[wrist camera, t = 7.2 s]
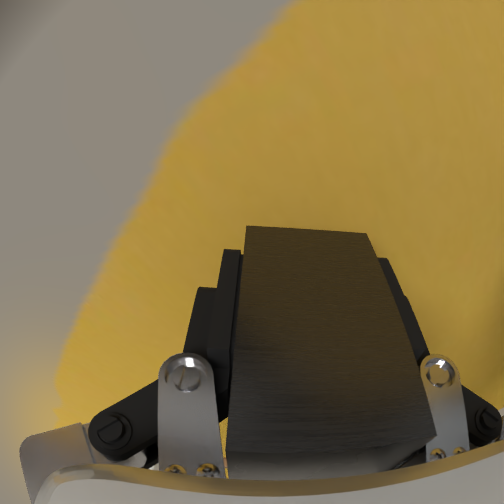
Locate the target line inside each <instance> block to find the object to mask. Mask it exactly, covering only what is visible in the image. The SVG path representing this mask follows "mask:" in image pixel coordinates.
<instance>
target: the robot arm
mask: <svg viewBox="0 0 504 504" xmlns="http://www.w3.org/2000/svg"><path fill="white" fill-rule="evenodd" d="M378 261H379V263H380V265H381V268H382V270H383V272H384V275H385V277H386V280H387V282H388V285H389V287H390V290H391V292H392V295H393V297H394V300H395V302H396V305H397V308H398V310H399V313H400V316H401V318H402V321H403V324H404V327H405V329H406V332H407V335H408V338H409V341H410V344H411V347H412V350H413V353H414V356H415V359H416V362H417V365H418V368H419V371H420V375H421V378H422V381H423V385H424V388H425V391H426V395H427V398H428V402H429V406H430V409H431V413H432V417H433V421H434V425H435V429H436V433H437V436H436V437H435V438H434V439H432V440H431V441H430V442H428V443H427V444H426V445H424V446H423V447H422V448H420V449H419V450H418V451H416V452H415V453H414V454H412V455H411V456H409V457H408V458H406V459H405V460H404V461H402V462H401V463H399V464H398V465H396V466H395V467H393V468H392V469H390V470H389V471H384V472H378V473H372V474H365V475H357V476H349V477H339V478H327V479H312V480H280V481H271V480H239V479H226V474H225V467H224V460H223V452H222V444H221V436H220V428H219V423H220V422H221V421H223V420H224V419H225V418H227V417H228V415H229V403H230V392H231V381H232V370H233V359H234V349H235V338H236V327H237V317H238V306H239V296H240V286H241V275H242V265H243V255H242V254H241V250H231V249H224V252H223V257H222V262H221V268H220V273H219V279H218V284H217V288H208V287H199V288H198V290H197V293H196V298H195V302H194V306H193V310H192V314H191V319H190V323H189V327H188V332H187V336H186V341H185V345H184V350H183V353H179V354H176V355H173V356H171V357H169V358H168V359H167V360H166V361H165V362H164V363H163V364H162V366H161V367H160V370H159V375H158V379H157V380H156V381H154V382H152V383H151V384H149V385H147V386H146V387H144V388H142V389H140V390H139V391H137V392H135V393H133V394H132V395H130V396H128V397H126V398H125V399H123V400H121V401H119V402H117V403H116V404H114V405H112V406H110V407H108V408H107V409H105V410H103V411H101V412H100V413H98V414H97V415H96V416H94V418H93V419H92V420H91V422H90V423H87V424H83V425H82V424H81V423H77V424H73V425H70V426H66V427H62V428H59V429H55V430H51V431H47V432H44V433H40V434H36V435H32V436H29V437H27V438H26V439H25V440H24V441H23V442H22V444H21V447H20V460H21V465H22V469H23V474H24V478H25V482H26V486H27V489H28V493H29V497H30V500H31V504H504V416H502V417H501V415H500V413H499V412H498V410H497V409H496V408H495V407H494V406H493V405H491V404H490V403H488V402H487V401H485V400H484V399H482V398H481V397H479V396H478V395H476V394H475V393H473V392H472V391H470V390H469V389H467V388H466V387H464V386H463V385H461V382H460V376H459V372H458V369H457V367H456V366H455V364H454V363H453V362H452V361H451V360H450V359H449V358H447V357H445V356H443V355H440V354H431V355H430V353H429V351H428V348H427V345H426V343H425V340H424V337H423V335H422V332H421V330H420V327H419V325H418V322H417V320H416V317H415V315H414V312H413V310H412V308H411V305H410V303H409V300H408V299H407V297H406V296H404V294H403V292H402V289H401V287H400V285H399V283H398V280H397V278H396V276H395V274H394V271H393V269H392V267H391V265H390V263H389V261H388V259H387V258H378ZM157 463H159V471H158V470H150V469H149V468H151V467H152V466H154V465H156V464H157Z"/></svg>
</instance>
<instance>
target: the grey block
mask: <svg viewBox="0 0 504 504" xmlns="http://www.w3.org/2000/svg"><path fill="white" fill-rule="evenodd" d="M436 436H437V433H436V429H435V425H434V421H433V417H432V413H431V409H430V406H429V402H428V398H427V395H426V391H425V388H424V385H423V381H422V378H421V375H420V371H419V368H418V365H417V362H416V359H415V356H414V353H413V350H412V347H411V344H410V341H409V338H408V335H407V332H406V329H405V327H404V324H403V321H402V318H401V316H400V313H399V310H398V308H397V305H396V302H395V300H394V297H393V295H392V292H391V290H390V287H389V285H388V282H387V280H386V277H385V275H384V272H383V270H382V268H381V265H380V263H379V261H378V258H377V256H376V254H375V251H374V249H373V247H372V245H371V242H370V240H369V238H368V236H367V234H366V233H354V232H340V231H326V230H311V229H295V228H279V227H262V226H246V235H245V245H244V255H243V265H242V275H241V286H240V296H239V306H238V317H237V327H236V338H235V349H234V359H233V370H232V381H231V392H230V403H229V415H228V426H227V437H226V449H225V451H226V460H227V468H228V476H229V479H239V480H271V481H280V480H312V479H327V478H339V477H349V476H357V475H365V474H372V473H378V472H384V471H389V470H390V469H392V468H393V467H395V466H396V465H398V464H399V463H401V462H402V461H404V460H405V459H406V458H408V457H409V456H411V455H412V454H414V453H415V452H416V451H418V450H419V449H420V448H422V447H423V446H424V445H426V444H427V443H428V442H430V441H431V440H432V439H434V438H435V437H436Z"/></svg>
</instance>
